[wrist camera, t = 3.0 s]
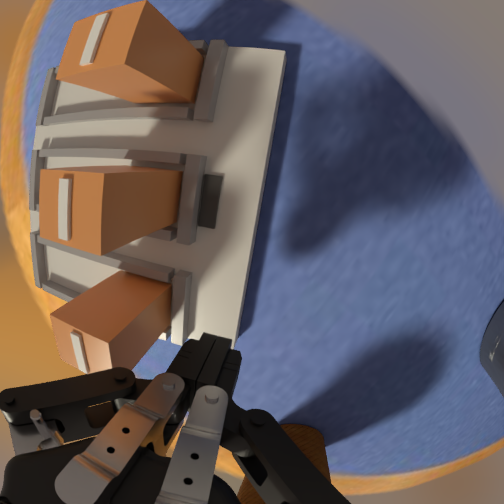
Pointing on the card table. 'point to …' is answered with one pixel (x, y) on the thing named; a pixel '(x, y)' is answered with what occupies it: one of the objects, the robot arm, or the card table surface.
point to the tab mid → (106, 205)
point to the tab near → (132, 56)
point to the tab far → (112, 322)
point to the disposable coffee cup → (308, 443)
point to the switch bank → (192, 185)
